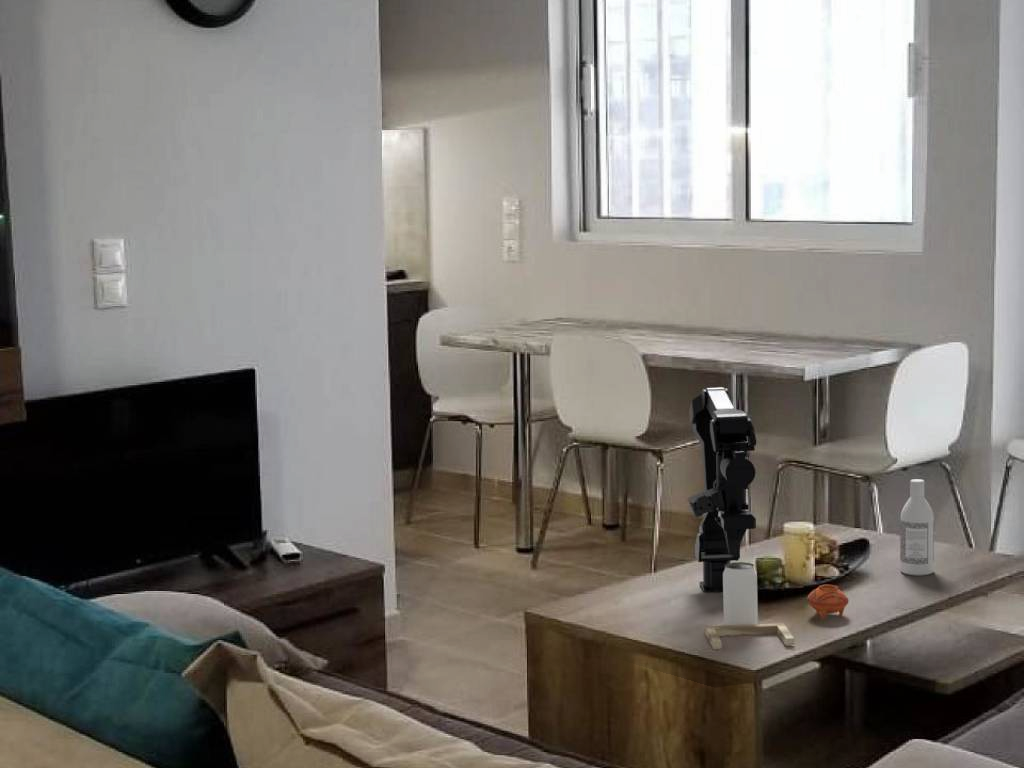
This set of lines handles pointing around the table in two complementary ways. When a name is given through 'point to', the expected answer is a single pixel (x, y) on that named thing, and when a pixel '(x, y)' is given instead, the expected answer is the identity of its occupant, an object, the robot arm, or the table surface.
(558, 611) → the table surface
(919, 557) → the bath foam
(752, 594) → the can
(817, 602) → the pot
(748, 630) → the cradle
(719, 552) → the robot arm
